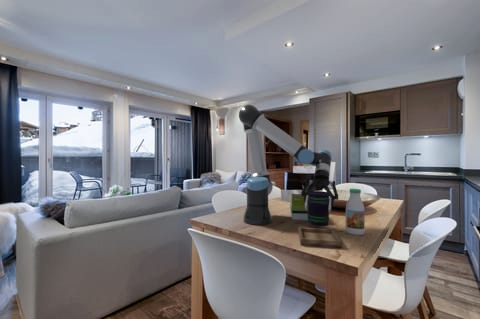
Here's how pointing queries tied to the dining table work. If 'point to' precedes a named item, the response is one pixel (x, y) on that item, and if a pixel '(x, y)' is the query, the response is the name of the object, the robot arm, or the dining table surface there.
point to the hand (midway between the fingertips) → (317, 209)
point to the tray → (319, 237)
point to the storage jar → (318, 208)
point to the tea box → (297, 206)
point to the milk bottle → (355, 213)
